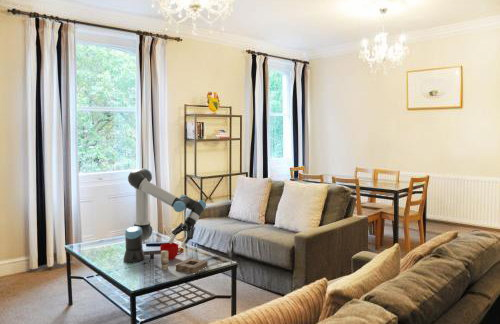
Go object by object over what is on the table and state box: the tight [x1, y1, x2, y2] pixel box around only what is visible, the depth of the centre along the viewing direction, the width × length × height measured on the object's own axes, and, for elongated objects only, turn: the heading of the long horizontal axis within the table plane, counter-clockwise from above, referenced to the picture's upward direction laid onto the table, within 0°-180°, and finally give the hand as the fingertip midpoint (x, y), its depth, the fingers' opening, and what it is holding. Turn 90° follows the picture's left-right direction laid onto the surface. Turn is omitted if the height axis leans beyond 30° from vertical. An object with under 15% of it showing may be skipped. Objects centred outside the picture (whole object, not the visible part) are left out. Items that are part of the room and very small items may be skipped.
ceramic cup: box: [159, 242, 184, 261], centre depth 307 cm, size 13×17×10 cm
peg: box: [160, 250, 169, 271], centre depth 287 cm, size 5×5×12 cm
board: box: [175, 257, 209, 274], centre depth 288 cm, size 15×16×4 cm
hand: (175, 244), depth 292 cm, fingers open, 13 cm apart
